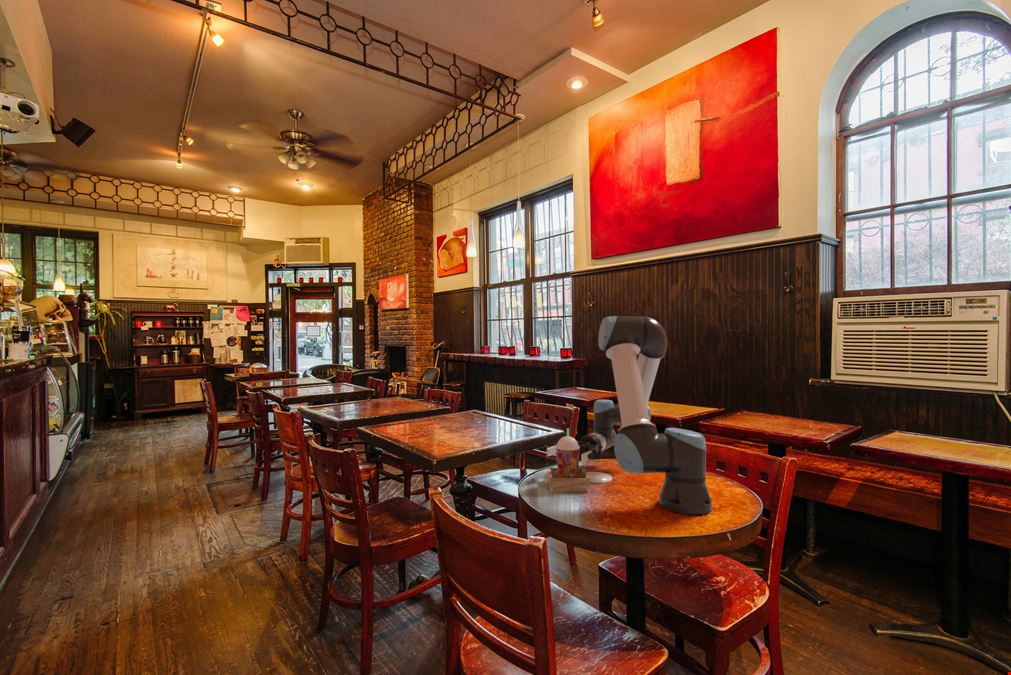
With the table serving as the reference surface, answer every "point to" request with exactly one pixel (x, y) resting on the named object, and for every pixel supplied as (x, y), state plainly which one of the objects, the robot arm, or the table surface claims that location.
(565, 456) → the smoothie
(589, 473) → the pale round disc
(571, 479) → the crate
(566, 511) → the table surface
